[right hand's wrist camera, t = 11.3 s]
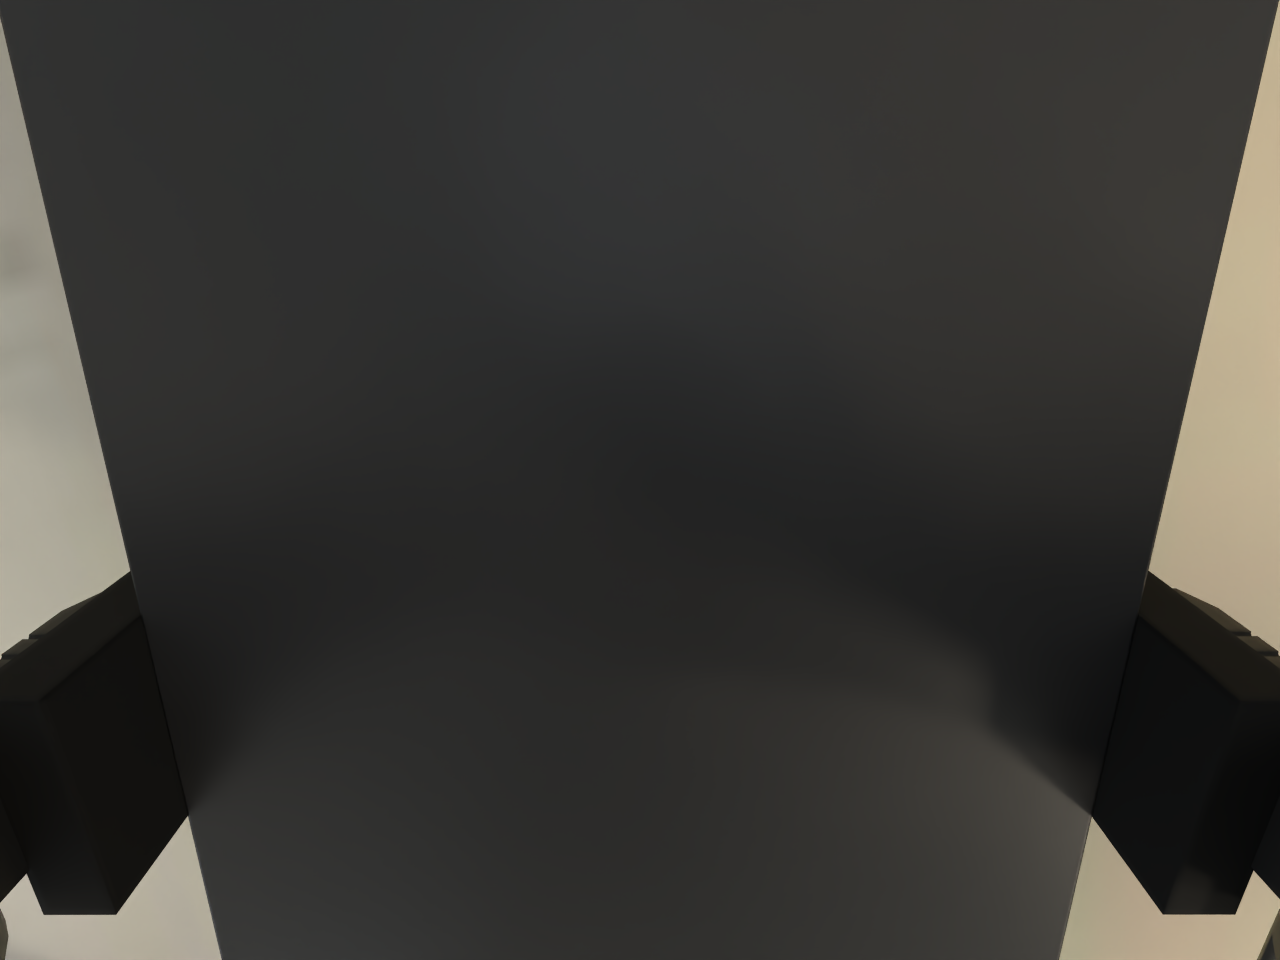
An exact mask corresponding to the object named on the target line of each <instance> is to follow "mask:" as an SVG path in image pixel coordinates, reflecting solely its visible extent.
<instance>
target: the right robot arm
mask: <svg viewBox="0 0 1280 960" xmlns="http://www.w3.org/2000/svg"><path fill="white" fill-rule="evenodd" d="M187 816H188V813H187V809H186V805H185V800H184V796H183V792H182V788H181V783H180V779H179V775H178V771H177V766H176V762H175V758H174V754H173V749H172V745H171V741H170V737H169V732H168V728H167V724H166V720H165V715H164V711H163V707H162V703H161V698H160V694H159V690H158V686H157V681H156V677H155V673H154V668H153V664H152V660H151V656H150V651H149V647H148V643H147V638H146V634H145V630H144V626H143V621H142V617H141V613H140V609H139V605H138V600H137V596H136V592H135V588H134V583H133V579H132V575H131V571H130V572H128V573H127V574H126V575H124V576H123V577H122V578H120V579H119V580H118V581H116V582H115V583H114V584H112V585H111V586H110V587H108V588H107V589H106V590H104V591H103V592H101V593H99V594H97V595H95V596H93V597H91V598H89V599H86V600H84V601H82V602H80V603H78V604H76V605H74V606H71V607H69V608H67V609H65V610H63V611H61V612H60V613H58V614H57V615H56V616H54V617H53V618H51V619H50V620H49V621H47V622H46V623H44V624H43V625H42V626H40V627H39V628H38V629H36V630H35V631H33V632H32V633H31V634H29V639H22V640H21V641H20V642H18V643H17V644H15V645H14V646H13V647H11V648H10V649H9V650H7V651H6V652H4V653H3V654H2V658H1V660H0V902H1V901H2V900H3V899H4V898H5V897H6V896H7V894H8V893H9V892H10V891H11V890H12V889H13V888H14V887H15V886H16V884H17V883H18V882H19V881H20V880H21V879H22V878H23V877H24V876H25V874H26V873H27V875H28V878H29V880H30V883H31V885H32V887H33V890H34V892H35V895H36V897H37V900H38V902H39V904H40V907H41V909H42V912H43V914H44V915H116V914H117V913H118V911H119V910H120V909H121V907H122V906H123V904H124V903H125V902H126V900H127V899H128V898H129V896H130V895H131V893H132V892H133V891H134V889H135V888H136V886H137V885H138V884H139V882H140V881H141V880H142V878H143V877H144V875H145V874H146V873H147V871H148V870H149V869H150V867H151V866H152V864H153V863H154V862H155V860H156V859H157V857H158V856H159V855H160V853H161V852H162V851H163V849H164V848H165V846H166V845H167V844H168V842H169V841H170V840H171V838H172V837H173V835H174V834H175V833H176V831H177V830H178V829H179V827H180V826H181V824H182V823H183V822H184V820H185V819H186V817H187ZM1092 817H1093V819H1094V820H1095V821H1096V823H1097V824H1098V825H1099V827H1100V828H1101V830H1102V831H1103V832H1104V834H1105V835H1106V836H1107V838H1108V839H1109V841H1110V842H1111V843H1112V845H1113V846H1114V848H1115V849H1116V850H1117V852H1118V853H1119V854H1120V856H1121V857H1122V859H1123V860H1124V861H1125V863H1126V864H1127V865H1128V867H1129V868H1130V870H1131V871H1132V872H1133V874H1134V875H1135V877H1136V878H1137V879H1138V881H1139V882H1140V883H1141V885H1142V886H1143V888H1144V889H1145V890H1146V892H1147V893H1148V894H1149V896H1150V897H1151V899H1152V900H1153V901H1154V903H1155V904H1156V906H1157V907H1158V908H1159V910H1160V911H1161V912H1162V914H1236V911H1237V909H1238V906H1239V904H1240V902H1241V899H1242V897H1243V894H1244V892H1245V890H1246V887H1247V885H1248V882H1249V880H1250V877H1251V875H1252V873H1253V870H1254V871H1255V872H1256V873H1257V874H1258V876H1259V877H1260V878H1261V879H1262V880H1263V881H1264V882H1265V883H1266V884H1267V885H1268V887H1269V888H1270V889H1271V890H1272V891H1273V892H1274V893H1275V894H1276V895H1277V896H1278V898H1279V899H1280V656H1279V655H1278V651H1277V650H1276V649H1274V648H1273V647H1272V646H1270V645H1269V644H1267V643H1266V642H1265V641H1263V640H1262V639H1260V638H1259V637H1258V636H1251V631H1249V630H1248V629H1247V628H1245V627H1244V626H1242V625H1241V624H1240V623H1238V622H1237V621H1235V620H1234V619H1233V618H1231V617H1230V616H1228V615H1227V614H1226V613H1224V612H1223V611H1221V610H1220V609H1219V608H1217V607H1215V606H1212V605H1210V604H1208V603H1206V602H1204V601H1202V600H1199V599H1197V598H1195V597H1193V596H1191V595H1189V594H1187V593H1184V592H1182V591H1180V590H1178V589H1172V588H1171V587H1170V586H1168V585H1167V584H1166V583H1164V582H1163V581H1162V580H1160V579H1159V578H1158V577H1156V576H1155V575H1153V574H1152V573H1151V572H1149V571H1148V573H1147V578H1146V582H1145V586H1144V591H1143V595H1142V599H1141V604H1140V608H1139V613H1138V617H1137V621H1136V626H1135V630H1134V634H1133V639H1132V643H1131V647H1130V652H1129V656H1128V660H1127V665H1126V669H1125V674H1124V678H1123V682H1122V687H1121V691H1120V695H1119V700H1118V704H1117V708H1116V713H1115V717H1114V722H1113V726H1112V730H1111V735H1110V739H1109V743H1108V748H1107V752H1106V756H1105V761H1104V765H1103V769H1102V774H1101V778H1100V783H1099V787H1098V791H1097V796H1096V800H1095V804H1094V809H1093V813H1092ZM7 942H8V931H7V926H6V921H5V918H4V916H3V914H2V911H1V909H0V960H5V955H6V949H7ZM1257 960H1280V909H1279V911H1278V914H1277V916H1276V918H1275V921H1274V923H1273V925H1272V927H1271V930H1270V932H1269V934H1268V936H1267V939H1266V941H1265V943H1264V945H1263V948H1262V950H1261V952H1260V954H1259V957H1258V959H1257Z"/></svg>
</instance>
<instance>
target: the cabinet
mask: <svg viewBox="0 0 1280 960" xmlns="http://www.w3.org/2000/svg"><path fill="white" fill-rule="evenodd" d="M1278 2H1279V0H0V18H1V22H2V26H3V30H4V35H5V39H6V43H7V47H8V52H9V56H10V60H11V64H12V69H13V73H14V77H15V81H16V86H17V90H18V94H19V98H20V103H21V107H22V111H23V115H24V120H25V124H26V128H27V132H28V137H29V141H30V145H31V149H32V154H33V158H34V162H35V167H36V171H37V175H38V179H39V184H40V188H41V192H42V196H43V201H44V205H45V209H46V213H47V218H48V222H49V226H50V230H51V235H52V239H53V243H54V247H55V252H56V256H57V260H58V264H59V269H60V273H61V277H62V281H63V286H64V290H65V294H66V298H67V303H68V307H69V311H70V315H71V320H72V324H73V328H74V332H75V337H76V341H77V345H78V349H79V354H80V358H81V362H82V366H83V371H84V375H85V379H86V384H87V388H88V392H89V396H90V401H91V405H92V409H93V413H94V418H95V422H96V426H97V430H98V435H99V439H100V443H101V447H102V452H103V456H104V460H105V464H106V469H107V473H108V477H109V481H110V486H111V490H112V494H113V498H114V503H115V507H116V511H117V515H118V520H119V524H120V528H121V532H122V537H123V541H124V545H125V549H126V554H127V558H128V562H129V566H130V571H131V575H132V579H133V583H134V588H135V592H136V596H137V600H138V605H139V609H140V613H141V617H142V621H143V626H144V630H145V634H146V638H147V643H148V647H149V651H150V656H151V660H152V664H153V668H154V673H155V677H156V681H157V686H158V690H159V694H160V698H161V703H162V707H163V711H164V715H165V720H166V724H167V728H168V732H169V737H170V741H171V745H172V749H173V754H174V758H175V762H176V766H177V771H178V775H179V779H180V783H181V788H182V792H183V796H184V800H185V805H186V809H187V813H188V817H189V822H190V826H191V830H192V835H193V839H194V843H195V847H196V852H197V856H198V860H199V864H200V869H201V873H202V877H203V881H204V886H205V890H206V894H207V898H208V903H209V907H210V911H211V915H212V920H213V924H214V928H215V932H216V937H217V941H218V945H219V949H220V954H221V958H222V960H1059V957H1060V953H1061V948H1062V944H1063V940H1064V935H1065V931H1066V926H1067V922H1068V918H1069V913H1070V909H1071V905H1072V900H1073V896H1074V892H1075V887H1076V883H1077V878H1078V874H1079V870H1080V865H1081V861H1082V857H1083V852H1084V848H1085V844H1086V839H1087V835H1088V831H1089V826H1090V822H1091V817H1092V813H1093V809H1094V804H1095V800H1096V796H1097V791H1098V787H1099V783H1100V778H1101V774H1102V769H1103V765H1104V761H1105V756H1106V752H1107V748H1108V743H1109V739H1110V735H1111V730H1112V726H1113V722H1114V717H1115V713H1116V708H1117V704H1118V700H1119V695H1120V691H1121V687H1122V682H1123V678H1124V674H1125V669H1126V665H1127V660H1128V656H1129V652H1130V647H1131V643H1132V639H1133V634H1134V630H1135V626H1136V621H1137V617H1138V613H1139V608H1140V604H1141V599H1142V595H1143V591H1144V586H1145V582H1146V578H1147V573H1148V569H1149V565H1150V560H1151V556H1152V552H1153V547H1154V543H1155V538H1156V534H1157V530H1158V525H1159V521H1160V517H1161V512H1162V508H1163V504H1164V499H1165V495H1166V490H1167V486H1168V482H1169V477H1170V473H1171V469H1172V464H1173V460H1174V456H1175V451H1176V447H1177V443H1178V438H1179V434H1180V429H1181V425H1182V421H1183V416H1184V412H1185V408H1186V403H1187V399H1188V395H1189V390H1190V386H1191V381H1192V377H1193V373H1194V368H1195V364H1196V360H1197V355H1198V351H1199V347H1200V342H1201V338H1202V334H1203V329H1204V325H1205V320H1206V316H1207V312H1208V307H1209V303H1210V299H1211V294H1212V290H1213V286H1214V281H1215V277H1216V272H1217V268H1218V264H1219V259H1220V255H1221V251H1222V246H1223V242H1224V238H1225V233H1226V229H1227V225H1228V220H1229V216H1230V211H1231V207H1232V203H1233V198H1234V194H1235V190H1236V185H1237V181H1238V177H1239V172H1240V168H1241V163H1242V159H1243V155H1244V150H1245V146H1246V142H1247V137H1248V133H1249V129H1250V124H1251V120H1252V116H1253V111H1254V107H1255V102H1256V98H1257V94H1258V89H1259V85H1260V81H1261V76H1262V72H1263V68H1264V63H1265V59H1266V54H1267V50H1268V46H1269V41H1270V37H1271V33H1272V28H1273V24H1274V20H1275V15H1276V11H1277V7H1278Z"/></svg>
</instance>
